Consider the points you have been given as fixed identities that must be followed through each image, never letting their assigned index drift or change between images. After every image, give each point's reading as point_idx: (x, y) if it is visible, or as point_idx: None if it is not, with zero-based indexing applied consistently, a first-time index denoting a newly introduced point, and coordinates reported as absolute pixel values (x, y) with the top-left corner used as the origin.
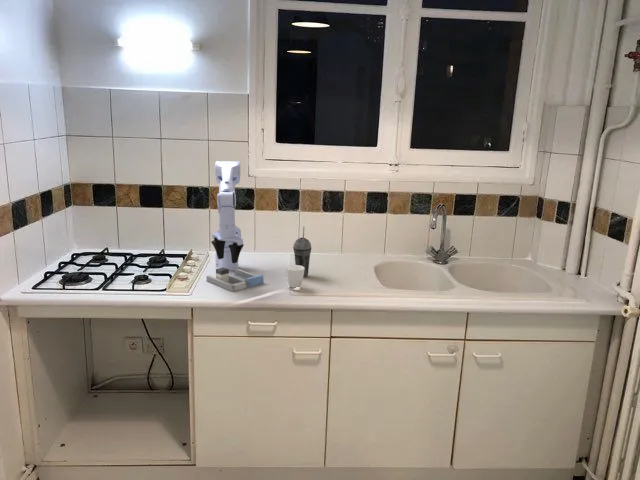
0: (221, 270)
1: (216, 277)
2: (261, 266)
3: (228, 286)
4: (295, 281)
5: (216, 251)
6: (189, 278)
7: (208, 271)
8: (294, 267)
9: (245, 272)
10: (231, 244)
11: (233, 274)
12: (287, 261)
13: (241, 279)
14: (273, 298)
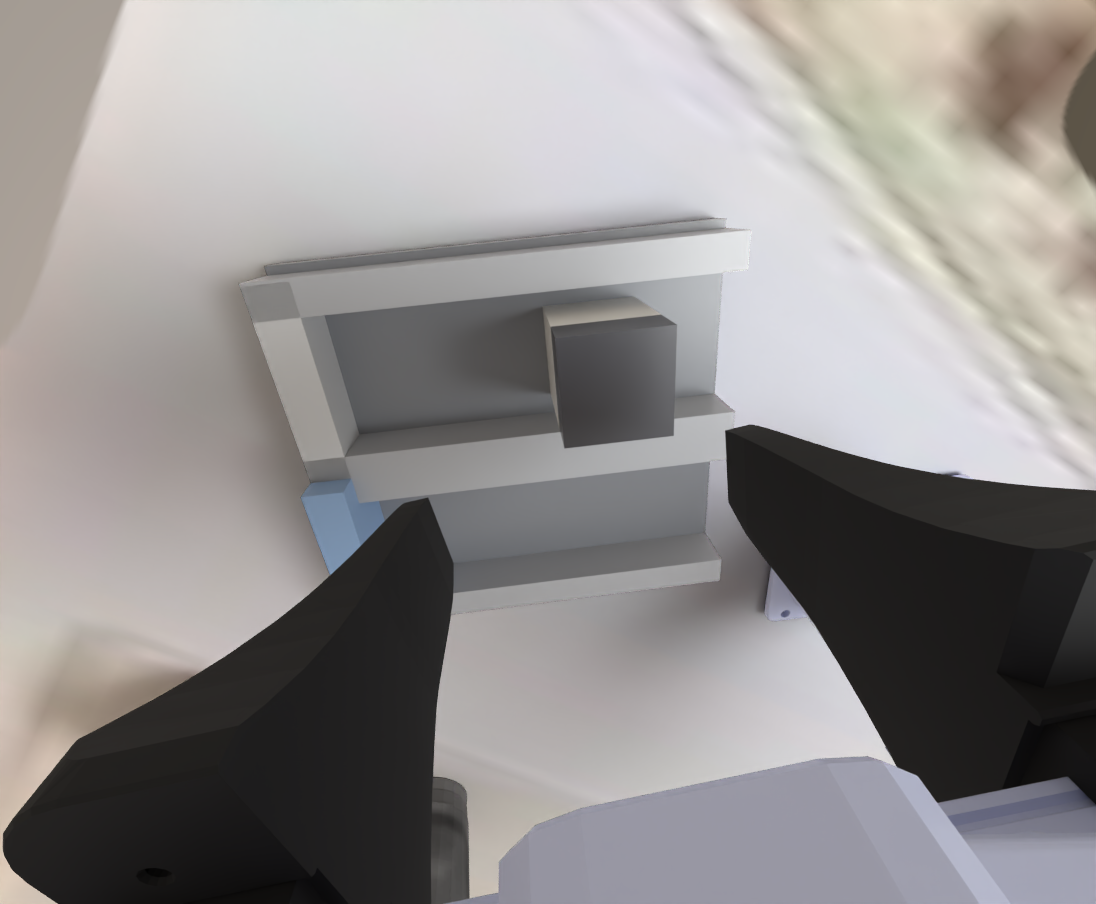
0: (579, 357)
1: (637, 305)
2: (741, 719)
3: (313, 274)
4: None
5: (842, 461)
6: (972, 154)
7: (961, 412)
8: None
9: (580, 582)
10: (278, 850)
11: (702, 516)
12: None
13: (417, 472)
14: (43, 507)
